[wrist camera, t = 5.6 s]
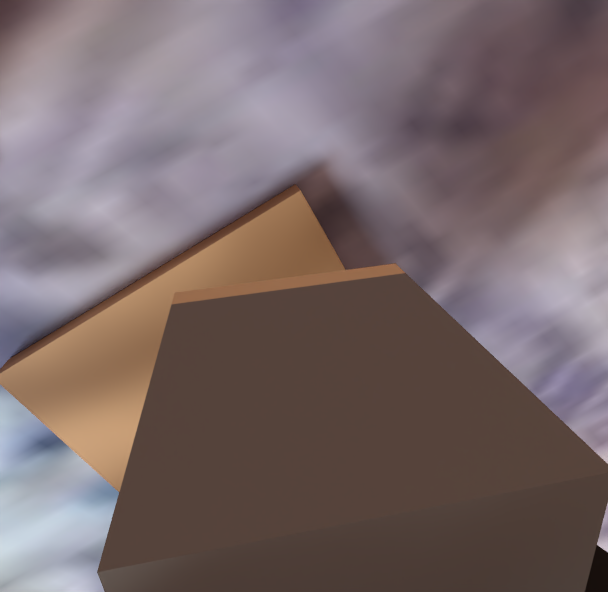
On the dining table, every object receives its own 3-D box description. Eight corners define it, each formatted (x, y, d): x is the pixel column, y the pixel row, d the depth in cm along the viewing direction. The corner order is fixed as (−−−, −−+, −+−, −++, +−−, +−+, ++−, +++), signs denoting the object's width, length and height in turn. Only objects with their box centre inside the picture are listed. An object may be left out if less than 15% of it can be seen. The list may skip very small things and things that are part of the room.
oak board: (8, 359, 16) (-8, 377, 15) (295, 184, 15) (300, 190, 14) (248, 586, 23) (249, 610, 22) (459, 471, 22) (471, 491, 21)
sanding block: (174, 292, 9) (97, 572, 4) (394, 263, 10) (615, 471, 4) (231, 563, 12) (235, 928, 7) (395, 530, 13) (520, 846, 7)
